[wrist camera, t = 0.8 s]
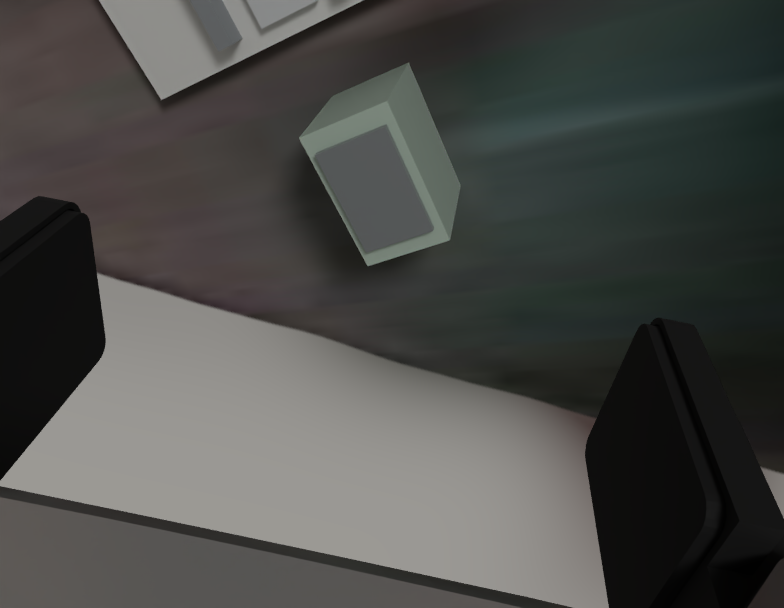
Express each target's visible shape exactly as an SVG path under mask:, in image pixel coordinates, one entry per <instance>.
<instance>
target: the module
mask: <svg viewBox="0 0 784 608" xmlns="http://www.w3.org/2000/svg"><path fill="white" fill-rule="evenodd" d="M299 139H300V141H301V143H302V145H303V147H304V149H305V150H306V152H307V154H308V156H309V158H310V160H311V162H312V163H313V165H314V167H315V169H316V171H317V173H318V175H319V176H320V178H321V180H322V182H323V184H324V186H325V188H326V190H327V191H328V193H329V195H330V197H331V199H332V201H333V203H334V204H335V206H336V208H337V210H338V212H339V214H340V216H341V218H342V219H343V221H344V223H345V225H346V227H347V229H348V231H349V232H350V234H351V236H352V238H353V240H354V242H355V244H356V245H357V247H358V249H359V251H360V253H361V255H362V257H363V259H364V260H365V262H366V264H367V266H370V265H373V264H377V263H380V262H383V261H386V260H389V259H392V258H395V257H399V256H402V255H405V254H408V253H411V252H414V251H417V250H421V249H424V248H427V247H430V246H433V245H436V244H439V243H443V242H446V241H449V240H450V238H451V232H452V227H453V222H454V217H455V212H456V207H457V202H458V197H459V192H460V187H461V185H460V183H459V181H458V178H457V176H456V174H455V171H454V169H453V167H452V164H451V162H450V159H449V157H448V155H447V152H446V150H445V148H444V145H443V143H442V141H441V138H440V136H439V133H438V131H437V129H436V126H435V124H434V122H433V119H432V117H431V115H430V112H429V110H428V107H427V105H426V103H425V100H424V98H423V96H422V93H421V91H420V88H419V86H418V84H417V81H416V79H415V77H414V74H413V72H412V70H411V67H410V65H409V63H407V64H404V65H402V66H400V67H398V68H395V69H393V70H391V71H388V72H386V73H384V74H382V75H379V76H377V77H375V78H373V79H370V80H368V81H366V82H363V83H361V84H359V85H357V86H354V87H352V88H350V89H347V90H345V91H343V92H341V93H338V94H336V95H334V96H332V97H331V99H330V100H329V101H328V102H327V104H326V105H325V106H324V107H323V109H322V110H321V111H320V112H319V114H318V115H317V116H316V117H315V119H314V120H313V121H312V122H311V124H310V125H309V126H308V127H307V129H306V130H305V131H304V132H303V134H302V135H301V136H300V137H299Z"/></svg>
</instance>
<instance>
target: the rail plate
mask: <svg viewBox="0 0 784 608" xmlns="http://www.w3.org/2000/svg"><path fill="white" fill-rule="evenodd" d="M99 1H100V3H101V4H102V6H103V8H104V9H105V11H106V12H107V14H108V16H109V17H110V19H111V20H112V22H113V24H114V25H115V27H116V28H117V30H118V32H119V33H120V35H121V36H122V38H123V40H124V41H125V43H126V44H127V46H128V48H129V49H130V51H131V52H132V54H133V55H134V57H135V59H136V60H137V62H138V63H139V65H140V67H141V68H142V70H143V71H144V73H145V75H146V76H147V78H148V79H149V81H150V83H151V84H152V86H153V87H154V89H155V91H156V92H157V94H158V95H159V97H160V99H161V100H162V99H164V98H167V97H169V96H171V95H173V94H175V93H177V92H179V91H181V90H183V89H185V88H187V87H189V86H191V85H193V84H195V83H197V82H199V81H201V80H203V79H205V78H207V77H209V76H211V75H213V74H215V73H217V72H219V71H221V70H223V69H225V68H227V67H229V66H231V65H233V64H235V63H237V62H239V61H241V60H244V59H246V58H248V57H250V56H252V55H254V54H256V53H258V52H260V51H262V50H264V49H266V48H268V47H270V46H272V45H274V44H276V43H278V42H280V41H282V40H284V39H286V38H288V37H290V36H292V35H294V34H296V33H298V32H300V31H302V30H304V29H306V28H308V27H310V26H312V25H314V24H316V23H318V22H321V21H323V20H325V19H327V18H329V17H331V16H333V15H335V14H337V13H339V12H341V11H343V10H345V9H347V8H349V7H351V6H353V5H355V4H357V3H359V2H361V1H363V0H99Z"/></svg>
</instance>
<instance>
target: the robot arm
mask: <svg viewBox="0 0 784 608" xmlns="http://www.w3.org/2000/svg"><path fill="white" fill-rule="evenodd" d="M104 349H105V331H104V324H103V316H102V309H101V301H100V294H99V287H98V279H97V272H96V264H95V257H94V249H93V242H92V235H91V227H90V221H89V218H88V217H87V215H86V214H84V213H81V211H80V209H79V207H78V205H76V204H75V203H73V202H68V201H63V200H58V199H53V198H48V197H42V196H38V197H35V198H33V199H32V200H30V201H29V202H27V203H26V204H25V205H23V206H22V207H20V208H19V209H17V210H16V211H14V212H13V213H11V214H10V215H9V216H7V217H6V218H4V219H3V220H1V221H0V480H1V479H2V478H3V477H4V475H5V474H6V473H7V472H8V470H9V469H10V468H11V467H12V466H13V464H14V463H15V462H16V461H17V460H18V458H19V457H20V456H21V455H22V453H23V452H24V451H25V450H26V448H27V447H28V446H29V445H30V444H31V442H32V441H33V440H34V439H35V438H36V436H37V435H38V434H39V433H40V432H41V430H42V429H43V428H44V427H45V426H46V424H47V423H48V422H49V421H50V419H51V418H52V417H53V416H54V415H55V413H56V412H57V411H58V410H59V409H60V407H61V406H62V405H63V404H64V402H65V401H66V400H67V398H68V397H69V396H70V395H71V394H72V393H73V391H74V390H75V389H76V388H77V387H78V385H79V384H80V383H81V382H82V380H83V379H84V378H85V377H86V376H87V374H88V373H89V372H90V371H91V370H92V368H93V367H94V366H95V365H96V363H97V362H98V361H99V360H100V358H101V356H102V354H103V352H104ZM585 458H586V465H587V472H588V477H589V484H590V490H591V497H592V503H593V509H594V516H595V522H596V528H597V535H598V541H599V547H600V553H601V560H602V565H603V572H604V578H605V585H606V591H607V598H608V604H609V608H784V519H783V516H782V514H781V512H780V510H779V507H778V505H777V503H776V501H775V499H774V496H773V494H772V492H771V490H770V488H769V485H768V483H767V481H766V479H765V477H764V474H763V472H762V470H761V468H760V466H759V463H758V461H757V459H756V457H755V455H754V452H753V450H752V448H751V446H750V444H749V441H748V439H747V437H746V435H745V433H744V430H743V428H742V426H741V424H740V422H739V421H738V419H737V417H736V415H735V413H734V411H733V408H732V406H731V404H730V402H729V400H728V397H727V395H726V393H725V391H724V389H723V386H722V384H721V382H720V380H719V378H718V375H717V373H716V371H715V369H714V367H713V364H712V362H711V360H710V358H709V355H708V353H707V351H706V349H705V347H704V344H703V342H702V340H701V338H700V336H699V333H698V331H697V329H696V328H695V326H694V325H692V324H688V323H683V322H678V321H673V320H667V319H662V318H656V319H654V320H653V321H652V322H651V324H650V325H648V324H642V325H641V326H640V327H639V328H638V330H637V332H636V334H635V336H634V338H633V340H632V343H631V345H630V347H629V349H628V351H627V354H626V356H625V358H624V360H623V362H622V364H621V367H620V369H619V371H618V373H617V375H616V378H615V380H614V382H613V384H612V386H611V389H610V391H609V393H608V395H607V397H606V399H605V402H604V404H603V406H602V408H601V410H600V413H599V415H598V417H597V419H596V421H595V424H594V426H593V428H592V430H591V432H590V435H589V437H588V440H587V444H586V451H585ZM0 608H571V607H567V606H563V605H559V604H554V603H550V602H546V601H542V600H537V599H533V598H528V597H524V596H520V595H515V594H510V593H506V592H501V591H496V590H492V589H487V588H482V587H478V586H473V585H468V584H464V583H459V582H455V581H450V580H445V579H441V578H436V577H431V576H427V575H422V574H417V573H413V572H408V571H403V570H399V569H394V568H390V567H385V566H380V565H376V564H371V563H366V562H362V561H357V560H352V559H348V558H343V557H338V556H334V555H329V554H324V553H319V552H315V551H310V550H305V549H300V548H296V547H291V546H286V545H281V544H277V543H272V542H267V541H263V540H258V539H253V538H248V537H244V536H239V535H234V534H229V533H224V532H219V531H214V530H210V529H205V528H200V527H195V526H191V525H186V524H181V523H177V522H172V521H167V520H162V519H157V518H152V517H147V516H143V515H138V514H133V513H128V512H124V511H119V510H113V509H109V508H104V507H99V506H94V505H89V504H84V503H79V502H74V501H70V500H65V499H60V498H55V497H50V496H45V495H40V494H35V493H30V492H26V491H21V490H16V489H11V488H6V487H1V486H0Z"/></svg>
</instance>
